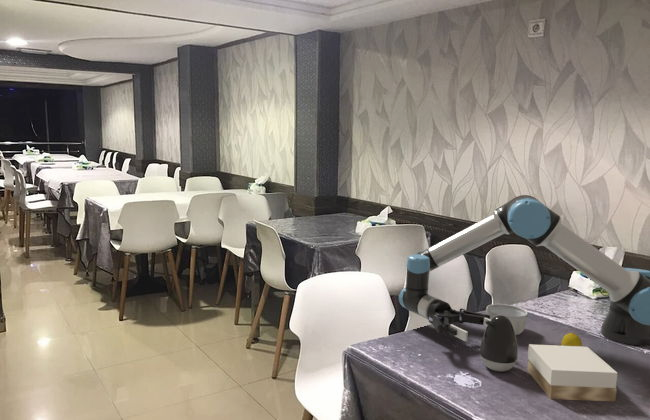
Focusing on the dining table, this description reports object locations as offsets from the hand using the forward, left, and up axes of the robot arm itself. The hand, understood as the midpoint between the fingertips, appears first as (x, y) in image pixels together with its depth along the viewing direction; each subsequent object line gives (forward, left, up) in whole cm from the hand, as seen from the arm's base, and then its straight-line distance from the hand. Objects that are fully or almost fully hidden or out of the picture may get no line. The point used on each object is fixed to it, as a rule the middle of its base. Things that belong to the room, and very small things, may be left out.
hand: (484, 332), depth 150 cm
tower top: (-19, +13, -5) cm, 24 cm away
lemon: (-27, -4, -9) cm, 29 cm away
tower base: (-19, +13, -9) cm, 25 cm away
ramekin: (-15, -26, -9) cm, 31 cm away
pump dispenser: (-3, +4, -9) cm, 10 cm away
